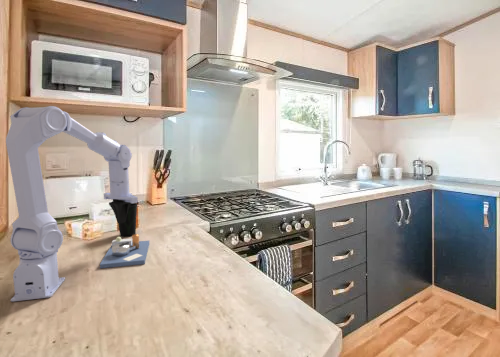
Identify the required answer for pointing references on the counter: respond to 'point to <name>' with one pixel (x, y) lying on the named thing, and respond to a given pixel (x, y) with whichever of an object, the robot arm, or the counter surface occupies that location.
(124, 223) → the cup
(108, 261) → the plate
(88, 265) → the counter surface
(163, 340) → the counter surface
